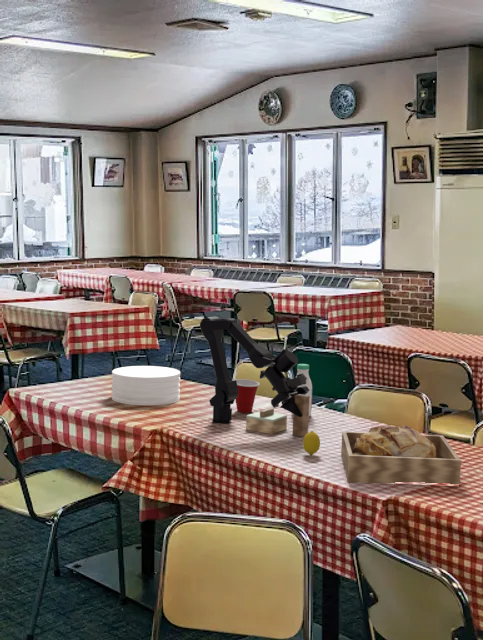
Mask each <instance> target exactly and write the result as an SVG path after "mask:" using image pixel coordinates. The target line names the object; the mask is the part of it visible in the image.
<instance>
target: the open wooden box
mask: <svg viewBox="0 0 483 640" xmlns="http://www.w3.org/2000/svg"><path fill="white" fill-rule="evenodd" d="M287 421H288V417H286V418H283V419H280V420H278V421H275V422H269V421H263V420H258V419H252V418H246V421H245V422H246V423H245V425H246V426H245V430H248V431H254V432H258V433H265V434H270V435H273V434H276V433H279V432H282V431H285V430H287V425H288V422H287Z"/></svg>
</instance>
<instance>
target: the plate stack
mask: <svg viewBox="0 0 483 640" xmlns="http://www.w3.org/2000/svg"><path fill="white" fill-rule="evenodd" d="M111 375H112V377H111V381H112V382H111V387H112V388H111V400H112V401H113V402H116V403H118V404H123V405H125V404H126V405H132V406H163V405H170V404H173V403H177V402H179V401H180V400H181V399H180V397H181V396H180V393H181V390H180V388H181V371H180V370H179V369H177V368H173V367H166V366H158V365H157V366H156V365H131V366H121V367H118V368H117V367H116V368H114V369H113V370H112V371H111Z"/></svg>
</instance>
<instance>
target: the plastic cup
mask: <svg viewBox="0 0 483 640" xmlns="http://www.w3.org/2000/svg"><path fill="white" fill-rule="evenodd" d="M232 380H233V381H234V380H236V381H237V387H238V389H239V391H238V396H237V398H236V399H235V404H236V405H235V406H236V410H237V412H238V413H242V414H247V413H248V414H249V413H250V414H251V413H252V411H253V408H254V403H255V399H256V393H257V390H258V387H259V386H260V382H258V381H256V380H252V379H246V378H241V379H240V378H238V379H232Z"/></svg>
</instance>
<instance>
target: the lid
mask: <svg viewBox="0 0 483 640" xmlns="http://www.w3.org/2000/svg"><path fill="white" fill-rule="evenodd" d="M246 418H252V419H258V420H263V421H269V422H275V421H278V420H280V419H283V418H288V415H287V414H282V413H275V408H274V407H273V408H272V407H269V408H265V409H262V410H259V411H256V412H253V413H250V414H247V415H246Z"/></svg>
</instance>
